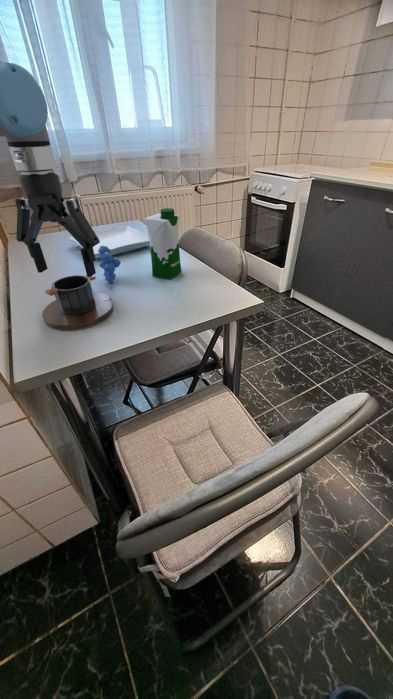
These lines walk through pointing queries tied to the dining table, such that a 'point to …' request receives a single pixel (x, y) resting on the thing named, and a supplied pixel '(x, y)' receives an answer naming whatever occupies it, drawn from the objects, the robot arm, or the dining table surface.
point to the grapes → (108, 263)
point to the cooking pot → (73, 294)
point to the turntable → (79, 321)
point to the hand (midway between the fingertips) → (66, 272)
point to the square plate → (119, 240)
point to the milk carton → (164, 243)
